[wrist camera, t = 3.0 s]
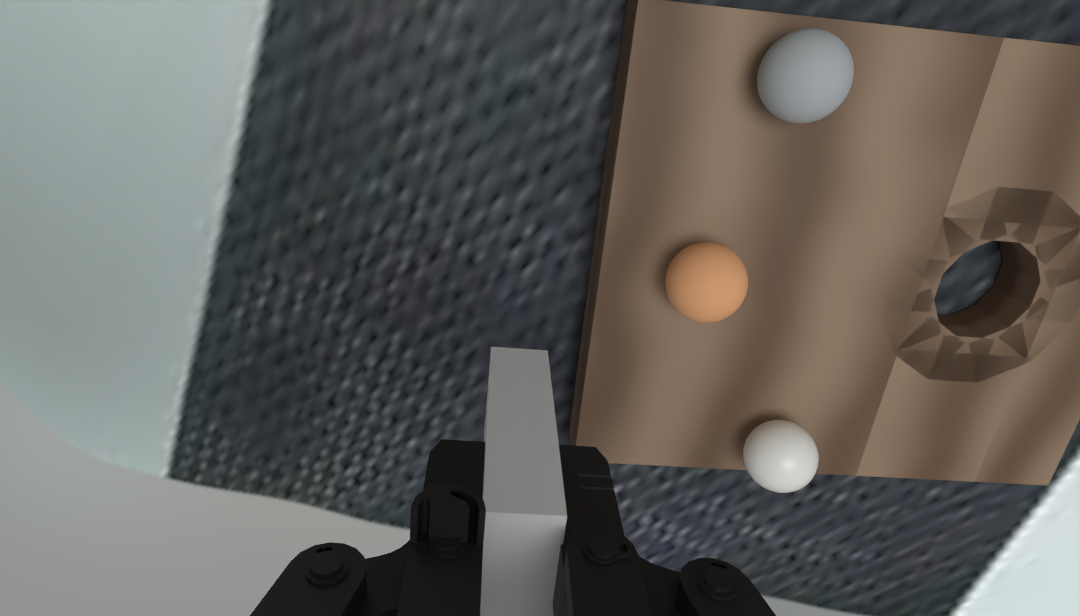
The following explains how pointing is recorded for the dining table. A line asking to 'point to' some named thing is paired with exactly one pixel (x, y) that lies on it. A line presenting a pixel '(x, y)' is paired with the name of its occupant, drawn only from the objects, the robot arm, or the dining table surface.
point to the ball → (706, 282)
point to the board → (837, 252)
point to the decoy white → (780, 456)
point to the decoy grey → (805, 75)
